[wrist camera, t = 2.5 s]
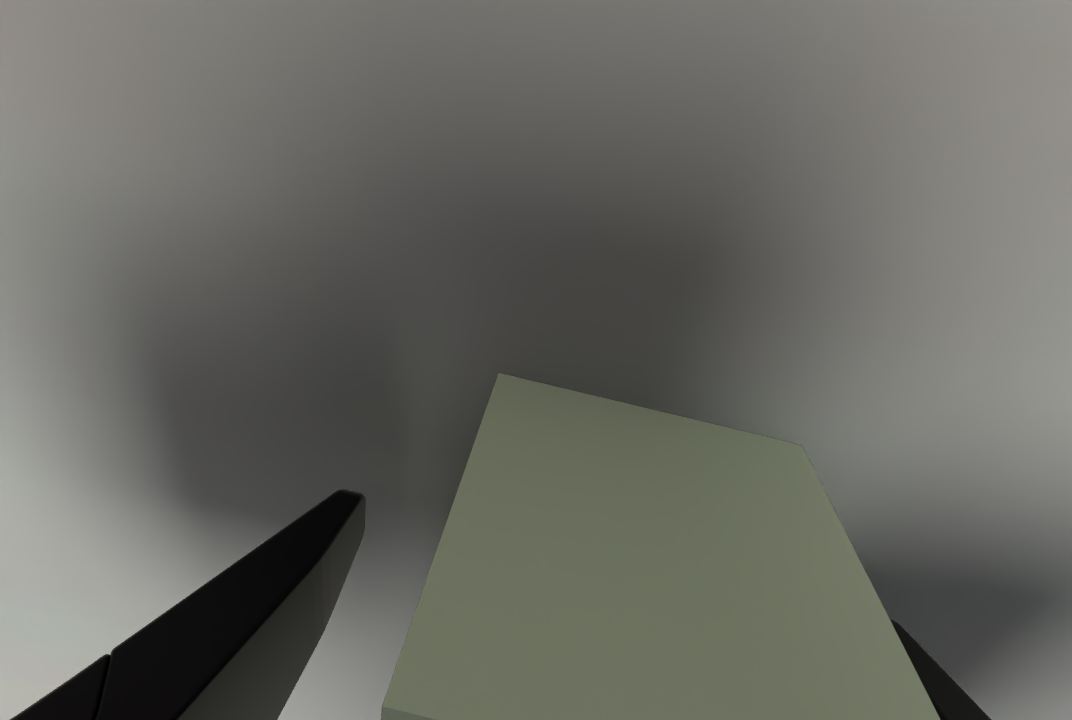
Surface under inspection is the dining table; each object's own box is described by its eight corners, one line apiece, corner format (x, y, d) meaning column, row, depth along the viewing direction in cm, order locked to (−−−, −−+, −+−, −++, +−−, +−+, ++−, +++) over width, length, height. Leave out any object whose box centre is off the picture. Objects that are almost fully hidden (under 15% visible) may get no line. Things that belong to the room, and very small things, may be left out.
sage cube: (799, 442, 8) (1009, 856, 4) (690, 617, 11) (744, 981, 7) (499, 370, 8) (382, 706, 4) (461, 562, 11) (366, 891, 7)
